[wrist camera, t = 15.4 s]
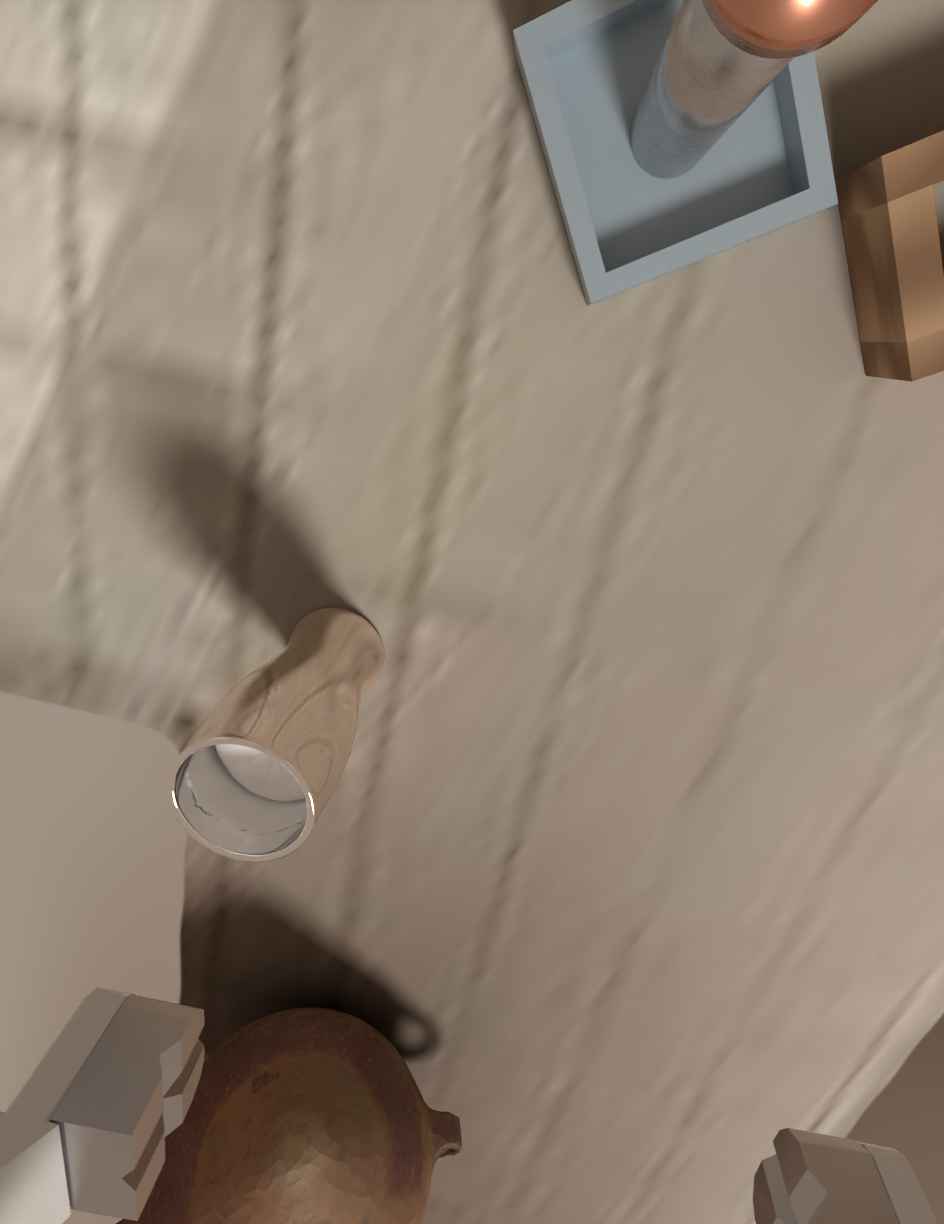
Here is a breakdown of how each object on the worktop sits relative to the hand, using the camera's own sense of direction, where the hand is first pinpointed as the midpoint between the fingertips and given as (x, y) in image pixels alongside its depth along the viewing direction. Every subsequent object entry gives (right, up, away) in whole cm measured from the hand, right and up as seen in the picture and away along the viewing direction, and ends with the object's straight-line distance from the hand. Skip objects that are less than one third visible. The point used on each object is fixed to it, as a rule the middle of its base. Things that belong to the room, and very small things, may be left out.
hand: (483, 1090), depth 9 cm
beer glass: (-9, +4, +33) cm, 35 cm away
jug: (-13, -35, +50) cm, 62 cm away
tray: (+9, +28, +21) cm, 37 cm away
